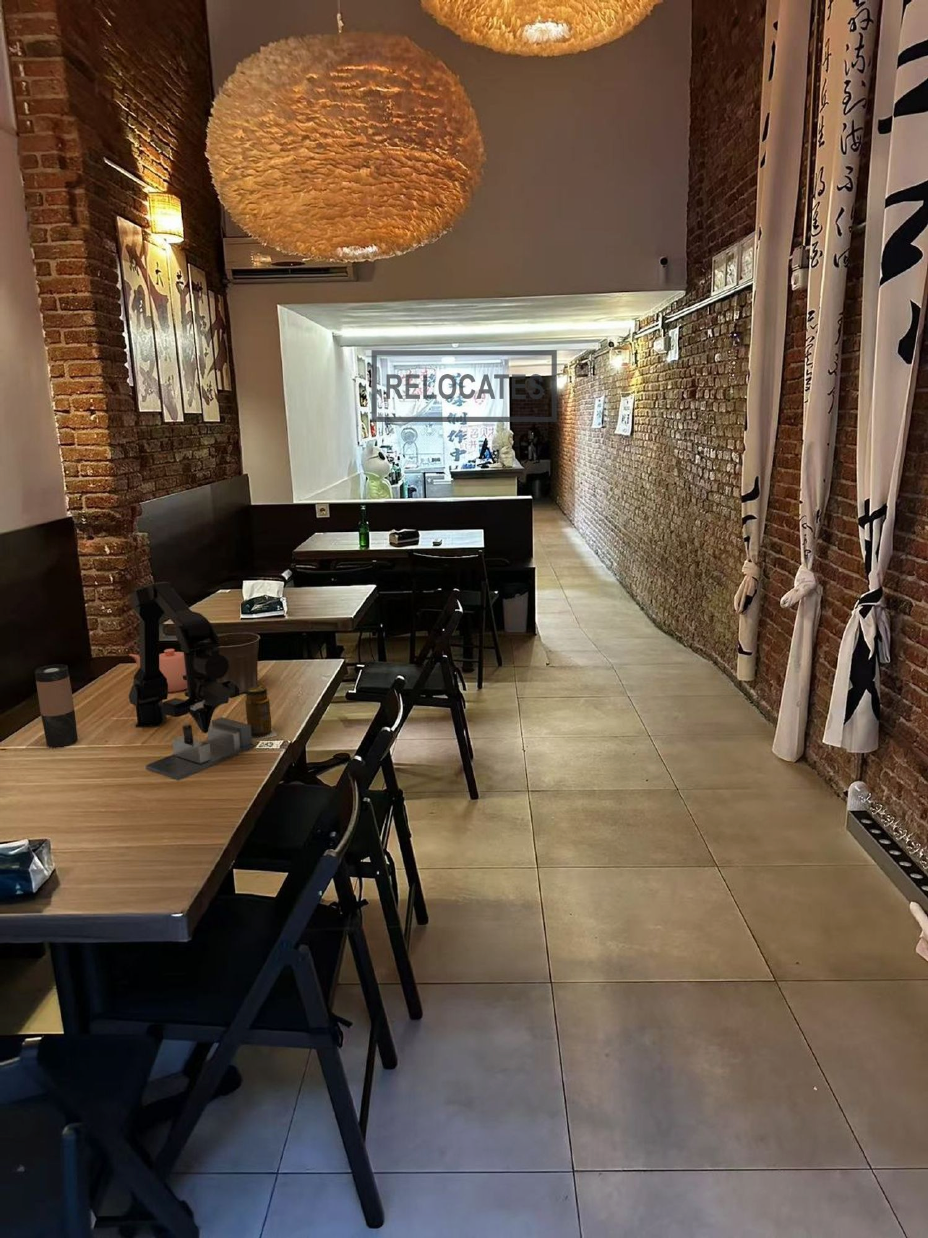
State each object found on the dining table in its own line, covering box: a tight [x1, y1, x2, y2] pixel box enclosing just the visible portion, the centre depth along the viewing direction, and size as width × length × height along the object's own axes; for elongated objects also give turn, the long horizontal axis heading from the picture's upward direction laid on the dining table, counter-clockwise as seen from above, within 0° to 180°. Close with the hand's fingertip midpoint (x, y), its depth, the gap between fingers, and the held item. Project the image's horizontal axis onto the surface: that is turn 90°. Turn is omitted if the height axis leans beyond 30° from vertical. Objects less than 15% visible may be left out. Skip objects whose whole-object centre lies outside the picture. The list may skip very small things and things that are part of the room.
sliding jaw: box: [171, 724, 211, 764], centre depth 185 cm, size 3×10×8 cm, turn 56°
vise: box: [145, 716, 255, 781], centre depth 187 cm, size 22×12×6 cm, turn 146°
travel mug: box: [34, 664, 78, 749], centre depth 198 cm, size 8×8×20 cm
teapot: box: [128, 648, 188, 693], centre depth 243 cm, size 22×15×12 cm
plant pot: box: [204, 632, 261, 695], centre depth 239 cm, size 16×16×16 cm
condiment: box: [245, 685, 278, 741], centre depth 202 cm, size 7×8×12 cm
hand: (205, 732), depth 188 cm, fingers closed
